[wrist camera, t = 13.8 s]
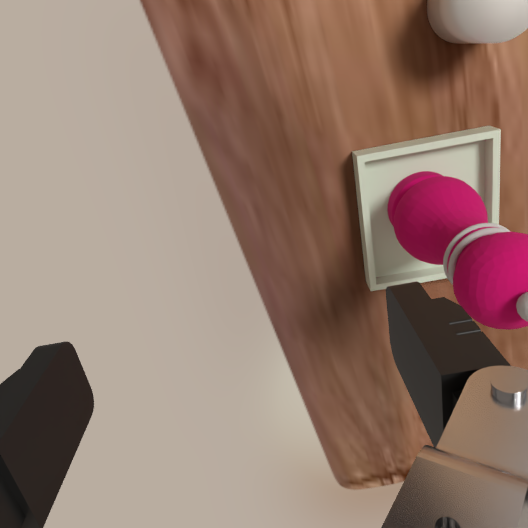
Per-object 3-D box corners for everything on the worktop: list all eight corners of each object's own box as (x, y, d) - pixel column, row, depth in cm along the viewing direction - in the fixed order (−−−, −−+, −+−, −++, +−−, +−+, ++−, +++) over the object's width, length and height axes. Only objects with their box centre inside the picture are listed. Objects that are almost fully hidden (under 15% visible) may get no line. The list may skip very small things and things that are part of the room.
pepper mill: (468, 166, 42) (633, 254, 24) (452, 242, 45) (587, 372, 27) (387, 163, 42) (493, 249, 24) (376, 240, 45) (462, 369, 27)
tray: (352, 151, 42) (356, 156, 40) (489, 125, 42) (500, 129, 40) (365, 281, 47) (370, 291, 46) (487, 260, 47) (497, 269, 45)
